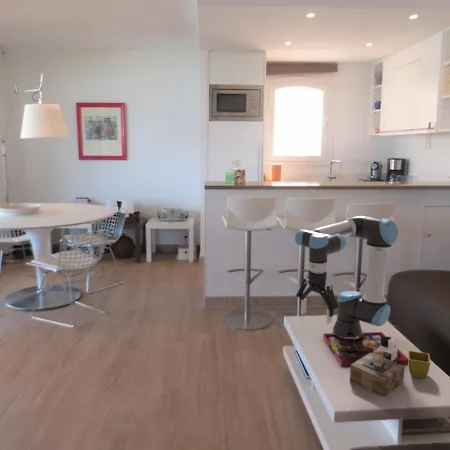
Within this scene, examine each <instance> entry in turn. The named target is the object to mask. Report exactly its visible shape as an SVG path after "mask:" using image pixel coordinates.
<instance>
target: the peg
mask: <svg viewBox="0 0 450 450" xmlns="http://www.w3.org/2000/svg"><path fill="white" fill-rule="evenodd" d="M372 353H373V366H375V367H377V368H379V369H380V368H382V366H383V351H382V350H379V349H377V348H376V349H374V350H373V352H372Z"/></svg>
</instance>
